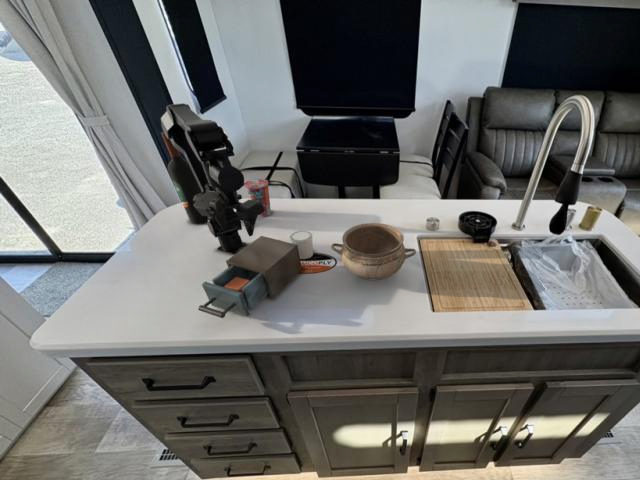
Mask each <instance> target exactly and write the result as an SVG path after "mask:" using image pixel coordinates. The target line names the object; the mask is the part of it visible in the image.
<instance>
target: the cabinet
mask: <svg viewBox="0 0 640 480" xmlns="http://www.w3.org/2000/svg"><path fill="white" fill-rule="evenodd" d="M301 260H302V259H300V255H299V250H298V245H296V244H292V242H288V241H284V240H280V239H276V238H272V237H269V236H265V235H260V236H259V237H258V238H256V239H255V240H253V241H252V242H250V243H249V244H248V245H245V246H244V247H243V248H241V249H240V250H238V251H237V252H236V253H234V254H233V255H232V256H230V258H228V259H227V260H225V263H226V266H227V268H228V267H230V266H231V265H233V266H237V267H240V268H244V269H248V270H251V271H255V272H258V273H262V274H263V275H264V279H265V282H266V285H267V288H268V292H269V293H268V294H267V295H266V296H265V298H268V299H269V298H270V299H272V300H273V299H274V298H275V297H276V296H277V295H278V294H279V293H280V292H282V291H283V289H284V288H285V287H286V286H288V285H289V284H290V283H291V282H292V281H293V280H295V278H296V277H297V276H298V275H299V274H300V273H301V272H302V271H303V265H302V262H301Z"/></svg>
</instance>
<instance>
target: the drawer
mask: <svg viewBox="0 0 640 480" xmlns="http://www.w3.org/2000/svg"><path fill="white" fill-rule="evenodd" d="M235 277H239V278H243V279H246V280H249V281H250V282H249V283H248V284H246V285H245V286H244V287H243V288H242V292H243V294H242V293H241V292H238V291H234V290H231V289H228V288H225V287H224V286H225V285H226V284H227V283H229V282H230V281H231V280H233V279H234V278H235ZM211 281H212V283H211V282H208V281H204V282H202V283H201V286H202V289H203V290H204V292H205V294H206V296H207V298H208V301H206V302H205V303H204V304H203V305H202V304H200V305H199V306H198V307H197V310H198V311H200V312H202V313H206V314H208V315H211V316H214V317H218V318H220V319H224V318H225V317H226V314H227V313H228V312H230V313H233V314H235V315H238V316H242V317H245V318H248V317H249V316H250V315H251V313H250V310H252V309H253V308H255V307H256V306H257V305H258V304H259V303H260V302H261V301H262V300H263V299H264V298H266V295H267V294H268V293H269V292H268V288H267V285H266V282H265V279H264V275H263V274H262V273H258V272H255V271H251V270H248V269H244V268H240V267H237V266H233V265H231V266H230V267H228V266H227V268H226V269H224V270H223V271H221V272H220V273H219V274H218V275H216V276H215V277H213V278H212V279H211ZM243 295H244V297H245V299H244V297H243ZM245 300H246V301H245ZM210 305H211V306H212V307H213V308H212V307H208V306H210ZM215 308H218V309H220V310H218V309H215ZM221 310H223V311H221Z"/></svg>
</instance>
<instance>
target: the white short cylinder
mask: <svg viewBox="0 0 640 480" xmlns="http://www.w3.org/2000/svg"><path fill="white" fill-rule="evenodd" d="M289 239H290V243H292V244H296V245H298V250H299V255H300V260H307V259H310V258H312V257H313V256H314V241H313V239H314V238H313V234H312V232H310V231H308V230H297V231H294V232H292V233H291V234H290V235H289Z"/></svg>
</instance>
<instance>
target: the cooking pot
mask: <svg viewBox="0 0 640 480" xmlns="http://www.w3.org/2000/svg"><path fill="white" fill-rule="evenodd" d="M341 239H342V243H339V242H338V243H337V242H335V243H332V244H331V246H330V248H331V249H332V250H333V252H335V253H337V254H338V255H340V256H341V261H342V263H343V265H344V266H345V268H346V269H347V271H349V273H351V274H352V275H354V276H356V277H358V278H361V279H364V280H370V281H371V280H372V281H374V280H383V279H386V278H389V277H391V276H394V275H395V274H396V273H397V272H398V271H399V270H401V268H402V267H403V265H404V263H405V261H406V260H407V259H409V258H412V257H413V256H415V255H416V254H417V250H416V248H407V247H405V244H404V240H405V237H404V234H403V233H402V231H401V230H400V229H398V228H397V227H395V226H393V225H390V224H386V223H381V222H367V223H360V224H357V225H354V226H352V227H349V228H348V229H347V230H346V231H344V233H343V235H342V238H341ZM336 247H338V248H341V249H338V248H336ZM409 252H411V253H409ZM407 253H408V254H407Z"/></svg>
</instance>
